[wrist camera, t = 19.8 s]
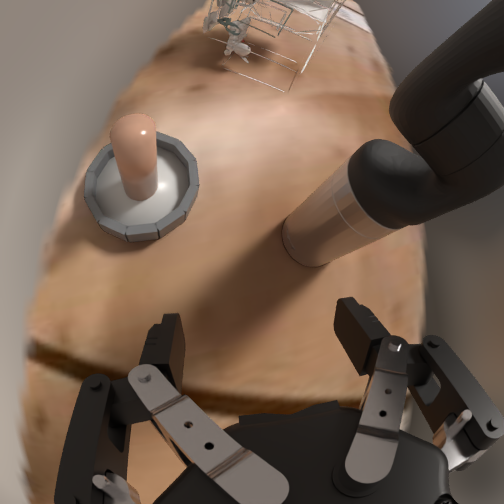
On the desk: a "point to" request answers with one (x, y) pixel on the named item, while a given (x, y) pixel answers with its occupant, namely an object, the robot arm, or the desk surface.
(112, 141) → the pink cylinder
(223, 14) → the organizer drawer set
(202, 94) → the desk surface
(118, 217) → the round tray
